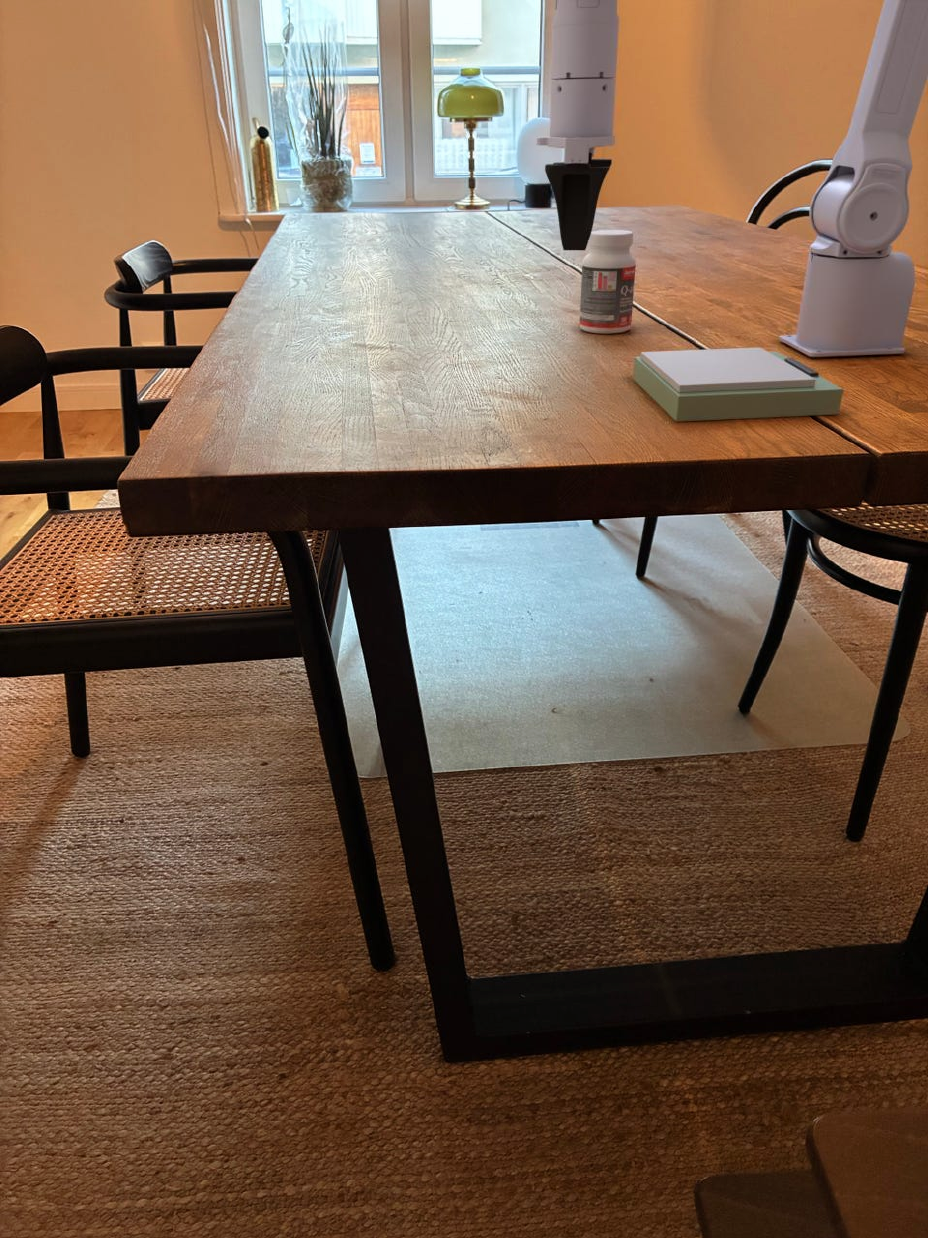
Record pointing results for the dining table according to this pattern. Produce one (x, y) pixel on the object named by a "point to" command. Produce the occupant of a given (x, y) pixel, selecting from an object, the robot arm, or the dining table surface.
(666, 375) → the scale
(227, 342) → the dining table surface
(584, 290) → the pill bottle
